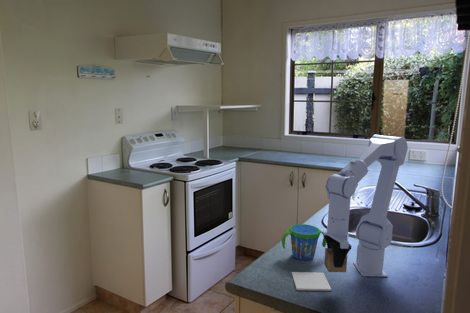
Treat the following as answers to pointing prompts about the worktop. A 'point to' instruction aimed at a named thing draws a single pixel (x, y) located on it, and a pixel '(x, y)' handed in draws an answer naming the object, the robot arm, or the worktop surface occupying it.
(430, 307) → the worktop surface
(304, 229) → the snack cup
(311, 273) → the cream tile
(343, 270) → the walnut block
